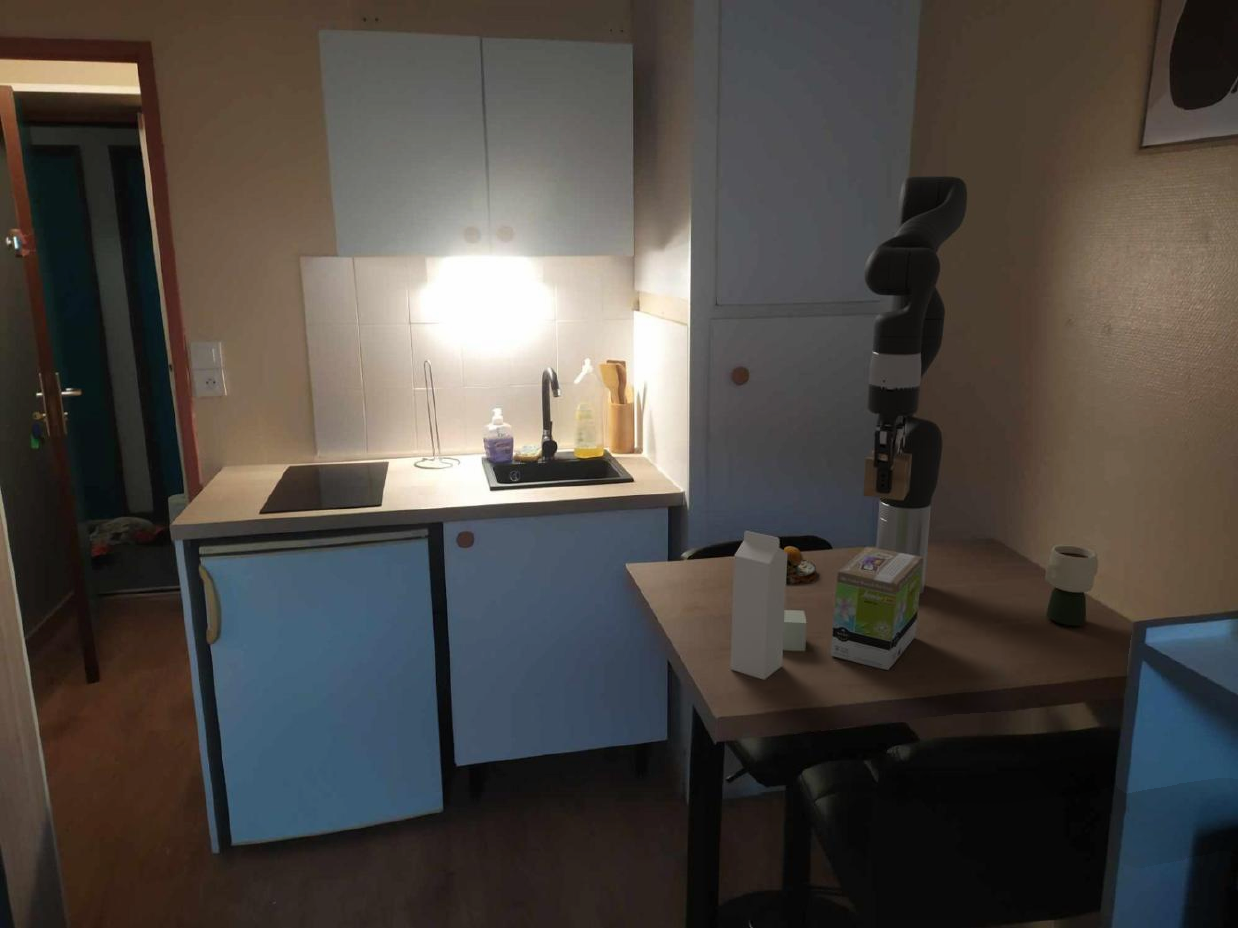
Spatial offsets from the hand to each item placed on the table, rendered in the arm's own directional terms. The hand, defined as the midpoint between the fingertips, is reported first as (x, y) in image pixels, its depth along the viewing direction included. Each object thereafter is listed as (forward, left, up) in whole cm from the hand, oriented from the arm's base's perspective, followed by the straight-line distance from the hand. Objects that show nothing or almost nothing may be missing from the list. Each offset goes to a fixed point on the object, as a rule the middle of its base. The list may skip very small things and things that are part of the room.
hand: (887, 486), depth 147 cm
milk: (+16, -15, -27) cm, 35 cm away
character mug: (-25, +28, -27) cm, 46 cm away
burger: (-26, -23, -28) cm, 45 cm away
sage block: (+5, -13, -27) cm, 31 cm away
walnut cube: (0, 0, -1) cm, 1 cm away
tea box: (0, 0, -28) cm, 28 cm away
